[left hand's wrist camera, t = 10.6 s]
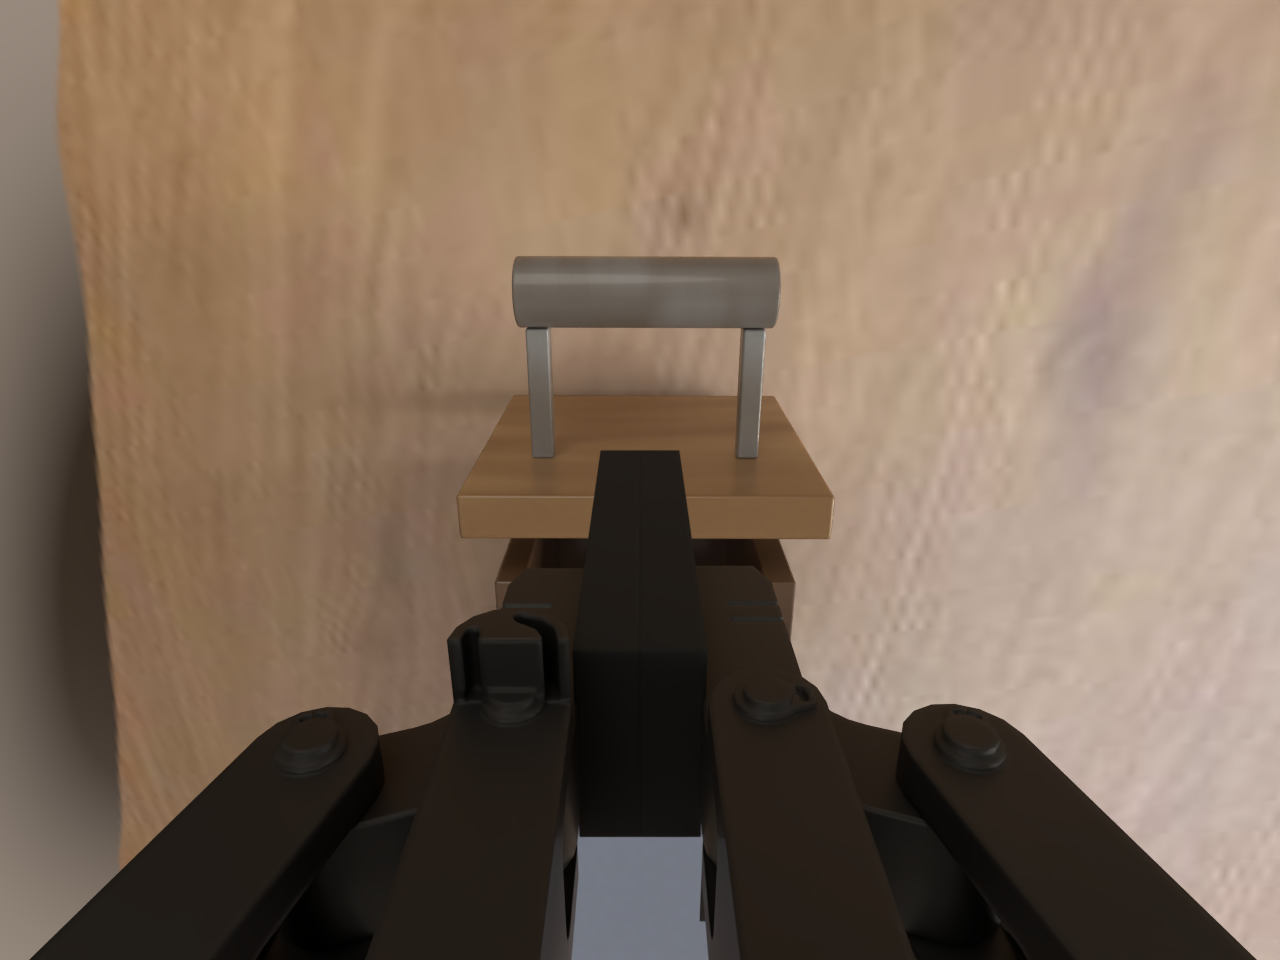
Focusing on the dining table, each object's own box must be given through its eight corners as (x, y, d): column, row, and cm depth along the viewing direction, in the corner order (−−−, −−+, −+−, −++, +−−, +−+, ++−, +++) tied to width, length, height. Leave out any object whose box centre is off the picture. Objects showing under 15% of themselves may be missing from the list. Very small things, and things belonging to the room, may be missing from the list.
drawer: (503, 236, 25) (434, 270, 17) (786, 237, 26) (860, 271, 17) (535, 765, 34) (499, 967, 25) (748, 766, 34) (785, 968, 25)
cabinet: (515, 623, 32) (457, 835, 22) (768, 623, 32) (829, 836, 22) (536, 928, 39) (498, 1201, 29) (745, 929, 39) (783, 1202, 29)
